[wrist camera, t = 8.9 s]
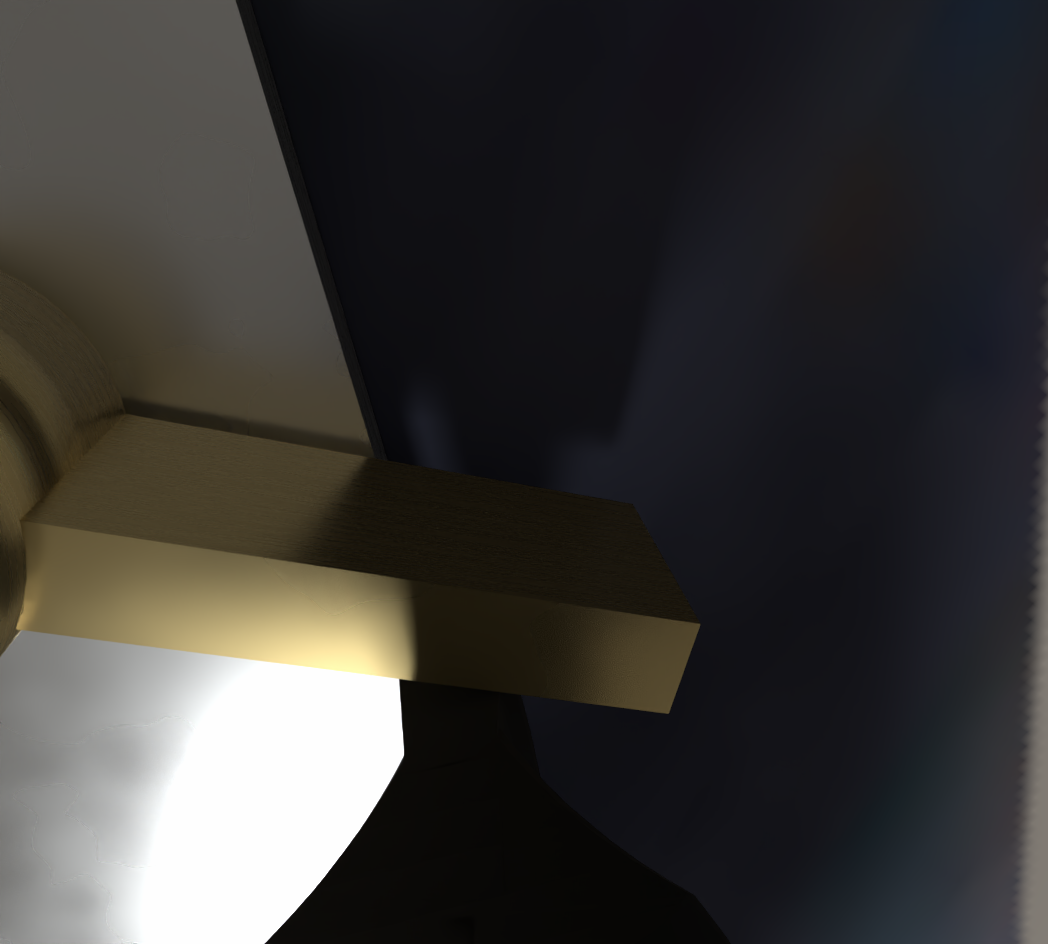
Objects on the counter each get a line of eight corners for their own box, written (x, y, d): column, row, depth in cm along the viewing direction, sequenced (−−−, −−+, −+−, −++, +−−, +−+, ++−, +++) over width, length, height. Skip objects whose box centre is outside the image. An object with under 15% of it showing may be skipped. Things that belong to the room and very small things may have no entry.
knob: (-242, 553, 11) (-569, 766, 7) (-271, 208, 10) (-696, 262, 6) (582, 667, 13) (645, 875, 10) (665, 398, 12) (778, 525, 8)
